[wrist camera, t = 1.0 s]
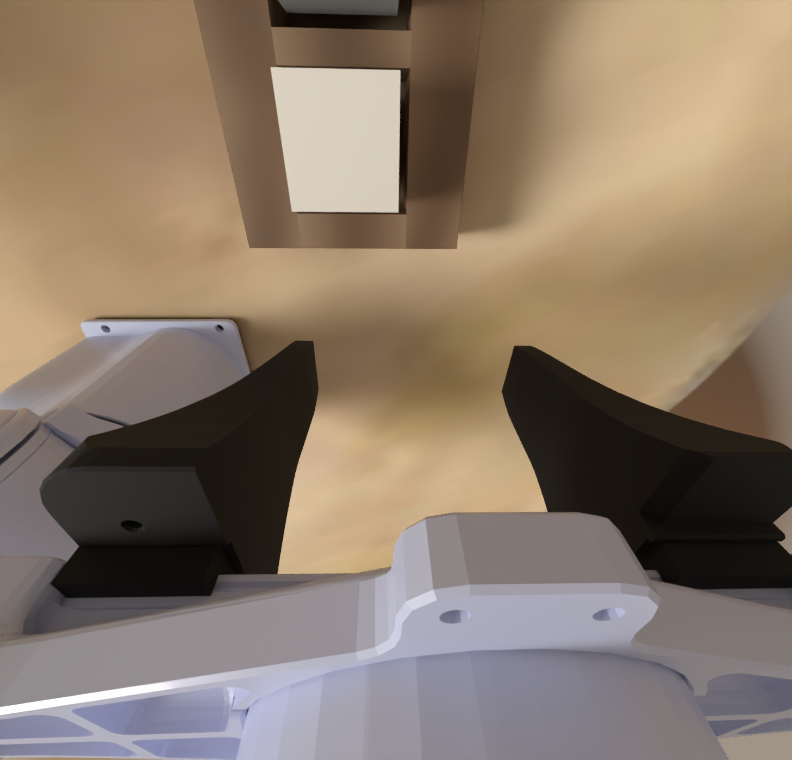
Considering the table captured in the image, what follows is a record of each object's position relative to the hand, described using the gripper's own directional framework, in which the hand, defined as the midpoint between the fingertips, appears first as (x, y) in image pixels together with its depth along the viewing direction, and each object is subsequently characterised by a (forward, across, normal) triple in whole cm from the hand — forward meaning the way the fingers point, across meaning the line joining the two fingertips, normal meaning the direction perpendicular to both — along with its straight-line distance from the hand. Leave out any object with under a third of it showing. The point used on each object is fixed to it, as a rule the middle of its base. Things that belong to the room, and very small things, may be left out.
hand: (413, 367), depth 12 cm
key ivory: (+7, +3, -7) cm, 10 cm away
